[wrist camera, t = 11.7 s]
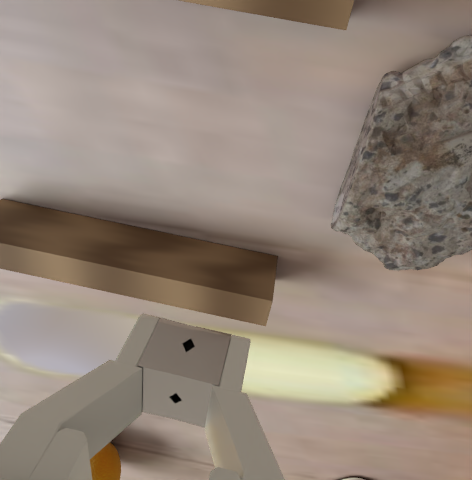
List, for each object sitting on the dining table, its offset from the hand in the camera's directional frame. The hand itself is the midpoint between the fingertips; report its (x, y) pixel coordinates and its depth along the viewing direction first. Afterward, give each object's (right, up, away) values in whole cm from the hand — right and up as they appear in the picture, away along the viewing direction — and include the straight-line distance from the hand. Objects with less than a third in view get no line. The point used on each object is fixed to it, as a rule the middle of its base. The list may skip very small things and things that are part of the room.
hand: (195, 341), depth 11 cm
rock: (+11, +7, +9) cm, 16 cm away
